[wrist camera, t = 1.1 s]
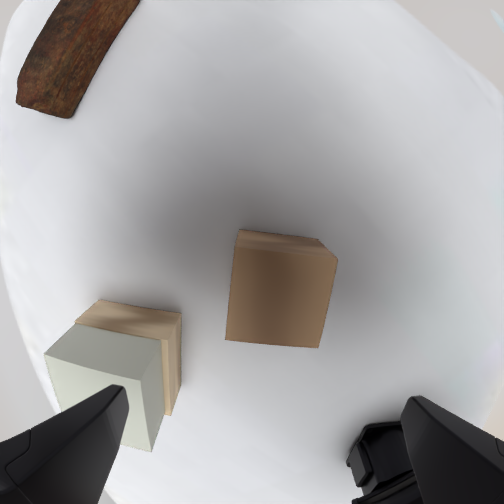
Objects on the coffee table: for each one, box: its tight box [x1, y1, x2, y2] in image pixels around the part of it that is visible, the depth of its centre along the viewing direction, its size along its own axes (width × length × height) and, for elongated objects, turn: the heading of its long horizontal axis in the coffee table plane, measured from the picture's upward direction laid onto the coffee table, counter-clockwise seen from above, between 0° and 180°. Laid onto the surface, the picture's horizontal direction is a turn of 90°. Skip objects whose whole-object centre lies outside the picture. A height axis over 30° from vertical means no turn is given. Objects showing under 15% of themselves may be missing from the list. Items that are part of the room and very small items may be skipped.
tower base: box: [75, 300, 181, 416], centre depth 19 cm, size 6×6×4 cm
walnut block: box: [225, 229, 338, 348], centre depth 17 cm, size 5×5×5 cm
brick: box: [16, 0, 140, 119], centre depth 14 cm, size 11×4×5 cm, turn 153°
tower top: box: [44, 323, 165, 452], centre depth 15 cm, size 6×6×4 cm
